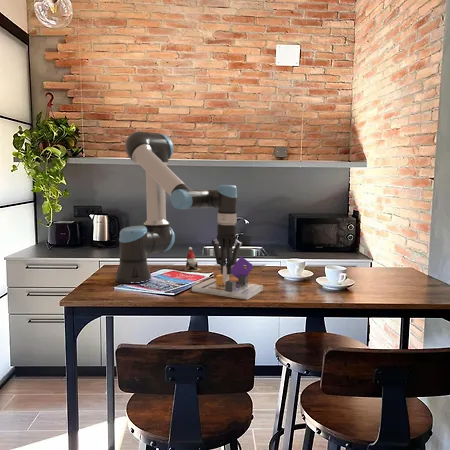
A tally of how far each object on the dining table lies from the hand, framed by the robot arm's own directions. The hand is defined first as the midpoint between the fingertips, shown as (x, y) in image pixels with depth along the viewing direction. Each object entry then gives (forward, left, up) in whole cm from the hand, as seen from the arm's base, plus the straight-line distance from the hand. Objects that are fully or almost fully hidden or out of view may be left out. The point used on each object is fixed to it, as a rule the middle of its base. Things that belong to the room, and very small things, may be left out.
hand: (225, 282), depth 172 cm
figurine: (-32, +27, -4) cm, 42 cm away
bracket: (-1, +12, 0) cm, 12 cm away
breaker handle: (-2, 0, -1) cm, 2 cm away
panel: (+1, 0, -4) cm, 4 cm away
